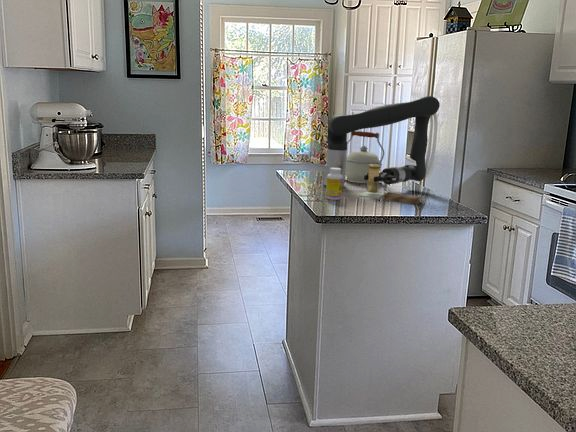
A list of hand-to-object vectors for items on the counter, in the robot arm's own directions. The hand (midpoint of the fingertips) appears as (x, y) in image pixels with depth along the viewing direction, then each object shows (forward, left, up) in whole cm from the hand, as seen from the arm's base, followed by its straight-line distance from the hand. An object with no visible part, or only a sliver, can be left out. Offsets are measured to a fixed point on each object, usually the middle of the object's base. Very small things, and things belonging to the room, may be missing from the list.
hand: (369, 178), depth 243 cm
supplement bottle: (-11, -15, -8) cm, 20 cm away
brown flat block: (+15, -1, -8) cm, 17 cm away
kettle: (-16, +37, -8) cm, 41 cm away
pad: (+1, +2, -8) cm, 8 cm away
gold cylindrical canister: (+1, +2, -6) cm, 7 cm away
